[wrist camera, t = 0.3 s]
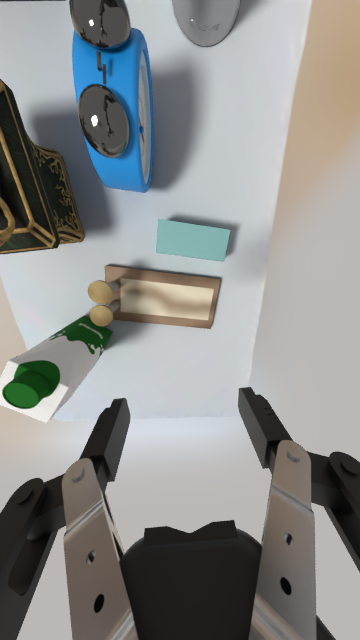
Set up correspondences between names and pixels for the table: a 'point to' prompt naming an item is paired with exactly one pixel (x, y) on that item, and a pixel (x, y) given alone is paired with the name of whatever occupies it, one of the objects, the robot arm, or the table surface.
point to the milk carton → (52, 369)
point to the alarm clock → (113, 93)
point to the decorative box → (32, 189)
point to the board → (153, 298)
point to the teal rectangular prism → (192, 240)
